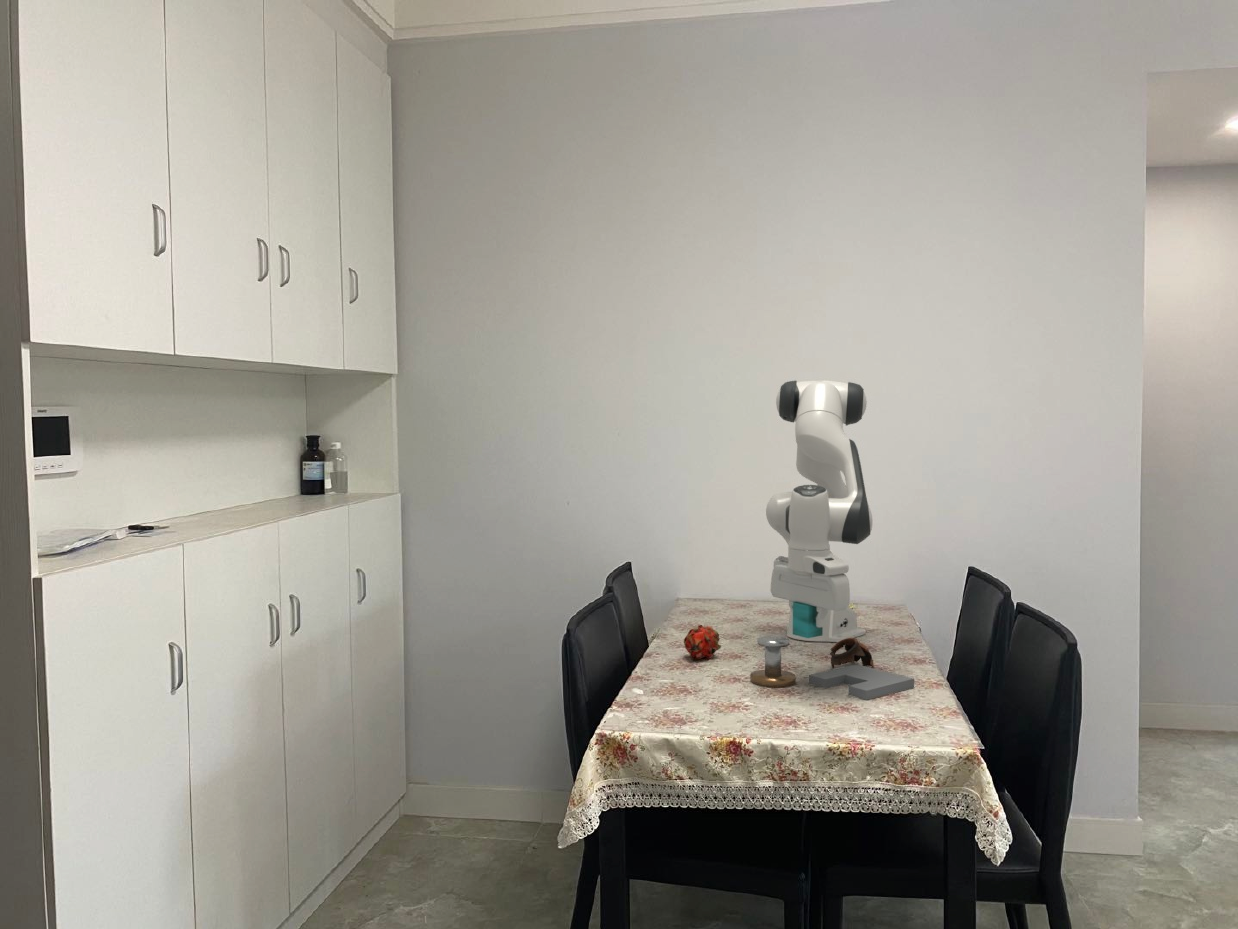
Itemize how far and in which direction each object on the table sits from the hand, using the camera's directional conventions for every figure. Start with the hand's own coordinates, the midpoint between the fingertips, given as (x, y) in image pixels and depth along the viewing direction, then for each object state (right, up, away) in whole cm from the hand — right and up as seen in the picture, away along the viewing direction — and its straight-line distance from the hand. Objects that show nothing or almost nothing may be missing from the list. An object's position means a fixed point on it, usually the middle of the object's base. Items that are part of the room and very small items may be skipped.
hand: (808, 624), depth 217 cm
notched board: (+12, -14, +2) cm, 19 cm away
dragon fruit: (-21, -13, +28) cm, 37 cm away
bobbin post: (-7, -14, +6) cm, 16 cm away
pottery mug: (+14, -14, +18) cm, 27 cm away
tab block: (0, -2, 0) cm, 2 cm away
